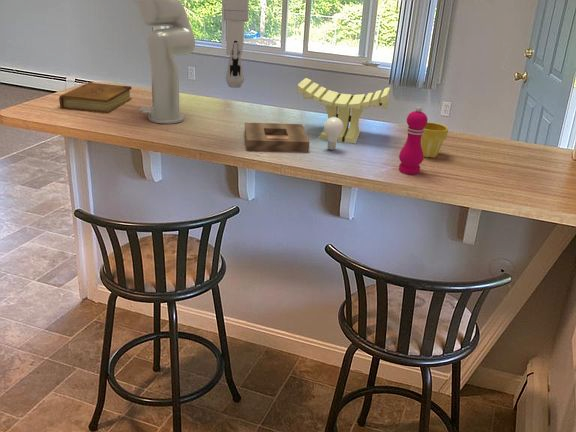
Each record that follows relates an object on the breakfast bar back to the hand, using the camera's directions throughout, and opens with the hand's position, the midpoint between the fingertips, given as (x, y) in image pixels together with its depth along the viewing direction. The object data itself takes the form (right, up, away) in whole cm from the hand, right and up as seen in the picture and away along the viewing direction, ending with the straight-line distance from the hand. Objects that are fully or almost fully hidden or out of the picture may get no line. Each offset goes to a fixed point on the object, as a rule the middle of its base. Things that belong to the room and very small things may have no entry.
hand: (235, 76), depth 183 cm
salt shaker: (0, -3, +2) cm, 3 cm away
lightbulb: (+31, -23, +7) cm, 39 cm away
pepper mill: (+54, -31, -7) cm, 62 cm away
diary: (-57, -1, +41) cm, 70 cm away
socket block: (+13, -19, +11) cm, 25 cm away
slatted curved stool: (+35, -16, +23) cm, 45 cm away
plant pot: (+63, -24, +9) cm, 68 cm away
